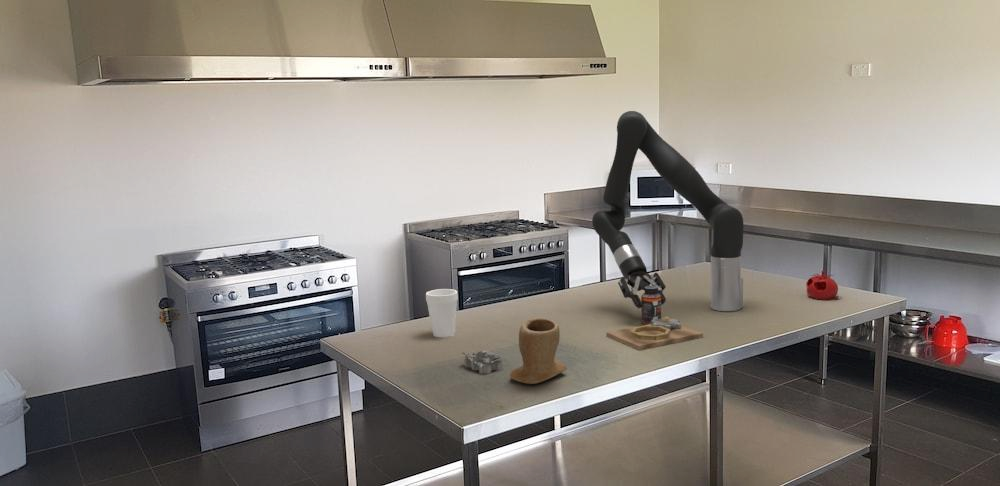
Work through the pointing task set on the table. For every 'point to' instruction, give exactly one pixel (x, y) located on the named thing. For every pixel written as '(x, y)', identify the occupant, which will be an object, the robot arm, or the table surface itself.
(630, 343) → the board
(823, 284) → the pomegranate
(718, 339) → the table surface
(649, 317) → the supplement bottle
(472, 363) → the egg carton
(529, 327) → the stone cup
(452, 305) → the foam cup
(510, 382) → the table surface
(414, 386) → the table surface
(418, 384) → the table surface
